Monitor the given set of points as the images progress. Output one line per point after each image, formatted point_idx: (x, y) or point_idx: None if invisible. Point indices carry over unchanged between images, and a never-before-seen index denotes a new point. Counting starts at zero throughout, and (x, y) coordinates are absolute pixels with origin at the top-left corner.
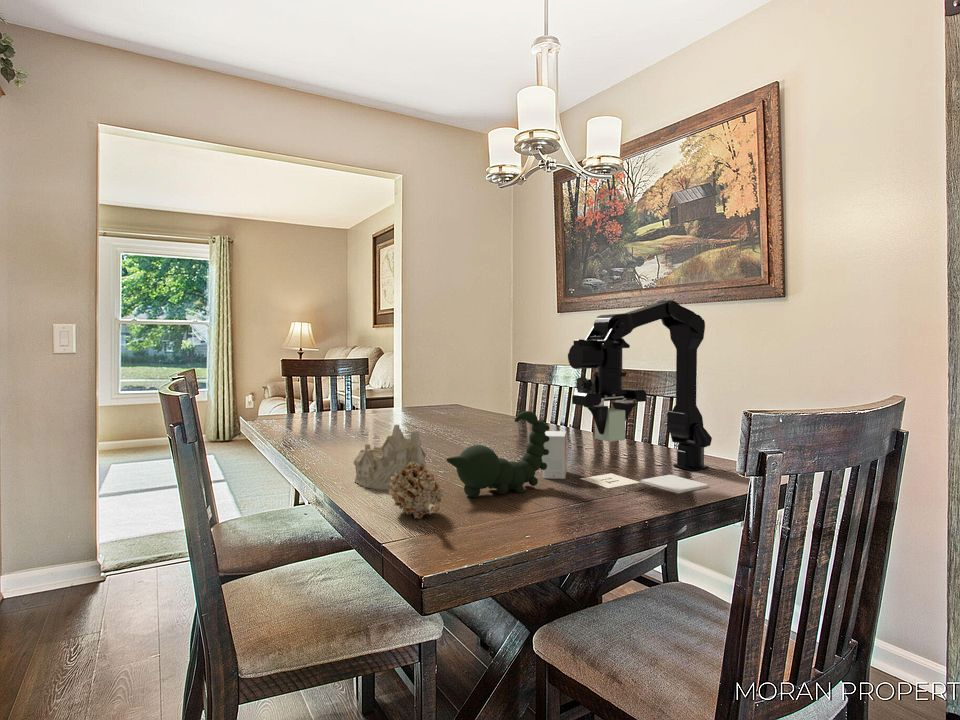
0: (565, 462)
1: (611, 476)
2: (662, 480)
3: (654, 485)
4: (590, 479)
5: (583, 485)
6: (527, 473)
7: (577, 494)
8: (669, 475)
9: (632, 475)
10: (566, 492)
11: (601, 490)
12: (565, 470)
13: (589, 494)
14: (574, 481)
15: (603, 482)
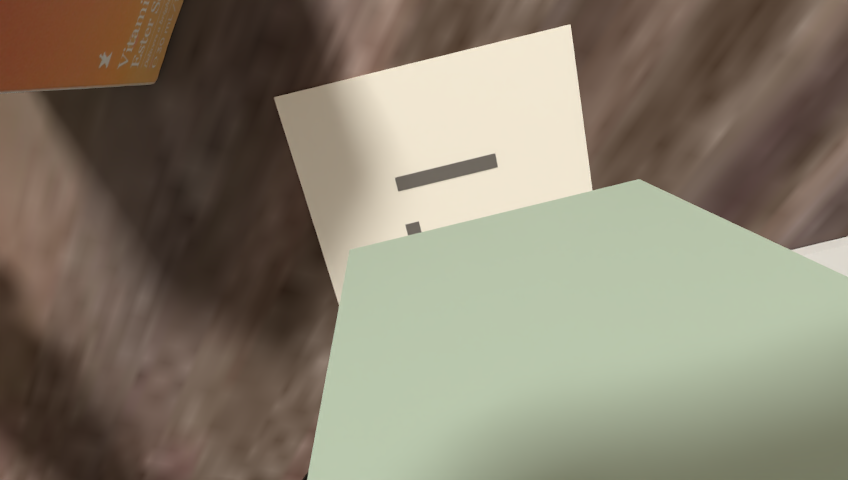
0: (104, 63)
1: (519, 114)
2: None
3: None
4: (337, 145)
5: (235, 258)
6: None
7: (132, 412)
8: (845, 258)
9: (675, 123)
10: (78, 365)
11: (298, 378)
12: (139, 59)
13: (200, 426)
14: (210, 150)
15: (388, 239)
